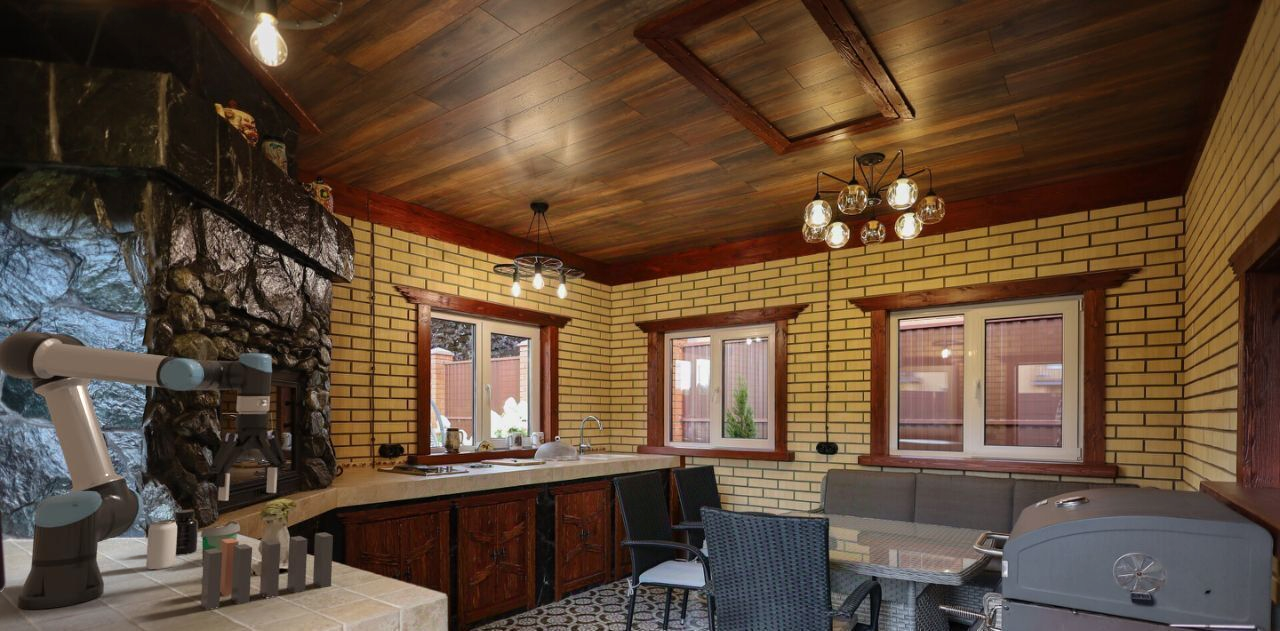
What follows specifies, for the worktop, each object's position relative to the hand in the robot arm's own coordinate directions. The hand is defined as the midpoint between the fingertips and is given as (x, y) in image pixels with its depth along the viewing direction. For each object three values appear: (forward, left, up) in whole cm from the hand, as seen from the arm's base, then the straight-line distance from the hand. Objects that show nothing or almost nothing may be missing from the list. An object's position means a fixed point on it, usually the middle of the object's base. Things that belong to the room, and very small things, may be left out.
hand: (248, 496), depth 178 cm
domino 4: (0, -20, -20) cm, 29 cm away
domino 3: (-6, -20, -20) cm, 29 cm away
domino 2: (-6, -11, -20) cm, 24 cm away
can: (-13, +28, -21) cm, 37 cm away
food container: (+1, +23, -21) cm, 31 cm away
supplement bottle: (-5, +43, -21) cm, 48 cm away
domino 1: (-12, -20, -20) cm, 31 cm away
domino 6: (+12, -20, -20) cm, 31 cm away
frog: (+9, +4, -21) cm, 23 cm away
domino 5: (+6, -20, -20) cm, 29 cm away
